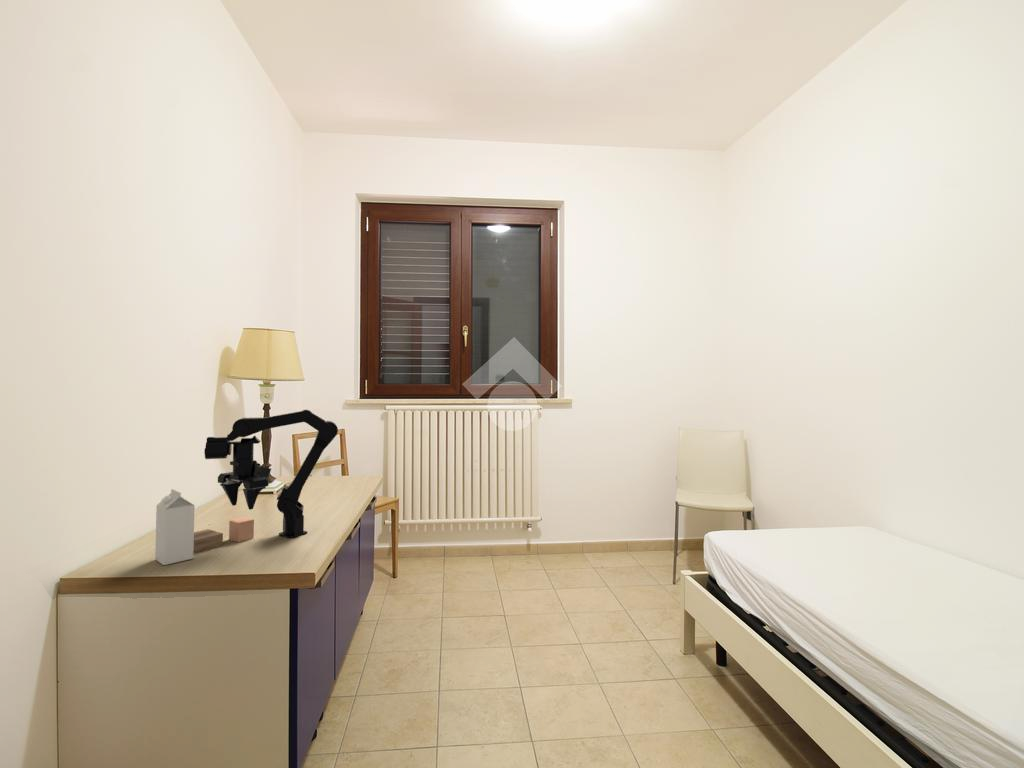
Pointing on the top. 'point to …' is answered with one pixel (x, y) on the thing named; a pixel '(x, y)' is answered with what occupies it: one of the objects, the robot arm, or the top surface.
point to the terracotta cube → (241, 529)
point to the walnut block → (207, 540)
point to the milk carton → (174, 529)
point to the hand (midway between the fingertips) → (242, 507)
